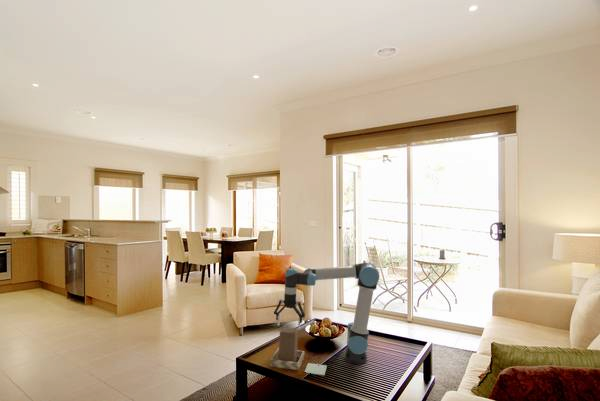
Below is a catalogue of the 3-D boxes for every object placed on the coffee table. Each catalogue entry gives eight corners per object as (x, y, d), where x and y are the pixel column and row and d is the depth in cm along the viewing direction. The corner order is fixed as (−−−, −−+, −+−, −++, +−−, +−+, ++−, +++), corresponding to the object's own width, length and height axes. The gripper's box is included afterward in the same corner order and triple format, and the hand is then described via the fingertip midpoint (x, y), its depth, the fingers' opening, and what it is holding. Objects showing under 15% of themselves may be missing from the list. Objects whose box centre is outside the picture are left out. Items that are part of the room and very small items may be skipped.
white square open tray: (304, 357, 217) (304, 351, 217) (298, 370, 200) (298, 363, 200) (277, 353, 221) (278, 347, 221) (270, 366, 203) (270, 359, 204)
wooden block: (293, 366, 204) (294, 333, 205) (278, 364, 206) (279, 331, 207) (296, 359, 214) (298, 328, 215) (282, 357, 216) (283, 326, 217)
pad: (326, 366, 206) (326, 365, 206) (324, 375, 194) (324, 374, 194) (308, 363, 209) (308, 362, 209) (304, 372, 197) (304, 372, 197)
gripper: (310, 293, 213) (308, 326, 212) (273, 289, 218) (271, 322, 217) (308, 296, 205) (306, 331, 205) (270, 292, 210) (268, 326, 210)
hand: (288, 326), depth 211 cm, fingers open, 13 cm apart
